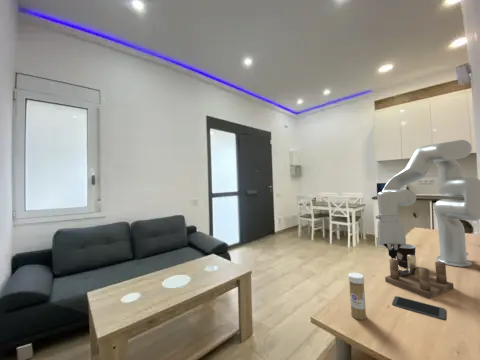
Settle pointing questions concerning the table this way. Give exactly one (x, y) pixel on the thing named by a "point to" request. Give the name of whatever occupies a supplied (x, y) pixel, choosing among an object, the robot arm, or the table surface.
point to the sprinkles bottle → (357, 295)
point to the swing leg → (409, 266)
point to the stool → (420, 280)
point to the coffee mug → (404, 254)
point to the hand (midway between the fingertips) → (393, 257)
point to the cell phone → (420, 307)
